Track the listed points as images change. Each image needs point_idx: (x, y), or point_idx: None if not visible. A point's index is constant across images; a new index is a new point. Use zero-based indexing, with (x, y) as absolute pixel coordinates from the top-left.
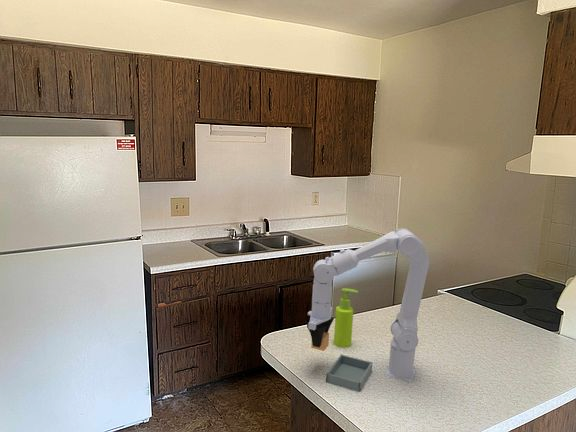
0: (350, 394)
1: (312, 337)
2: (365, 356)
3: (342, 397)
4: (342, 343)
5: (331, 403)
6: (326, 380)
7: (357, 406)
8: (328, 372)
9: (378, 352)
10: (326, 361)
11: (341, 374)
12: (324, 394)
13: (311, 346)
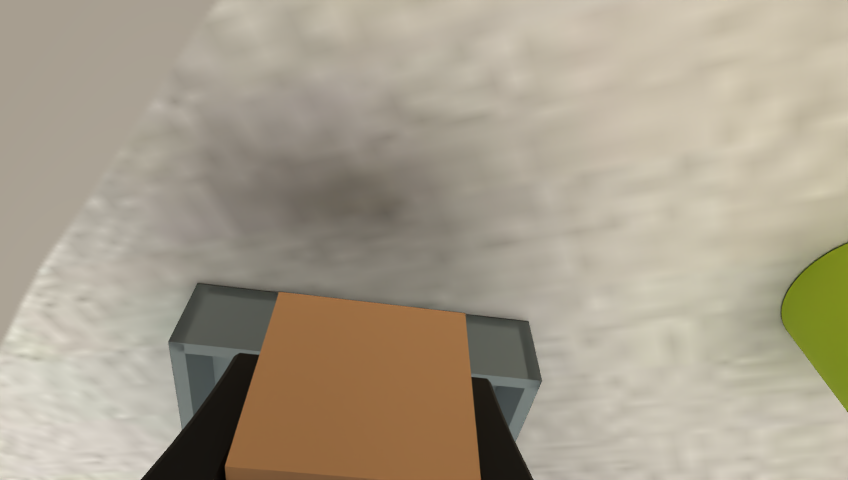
0: (172, 407)
1: (160, 477)
2: (666, 426)
3: (111, 381)
4: (810, 336)
5: (3, 344)
6: (189, 303)
7: (86, 441)
8: (200, 349)
9: (729, 470)
10: (533, 232)
11: None
12: (62, 297)
13: (275, 307)
